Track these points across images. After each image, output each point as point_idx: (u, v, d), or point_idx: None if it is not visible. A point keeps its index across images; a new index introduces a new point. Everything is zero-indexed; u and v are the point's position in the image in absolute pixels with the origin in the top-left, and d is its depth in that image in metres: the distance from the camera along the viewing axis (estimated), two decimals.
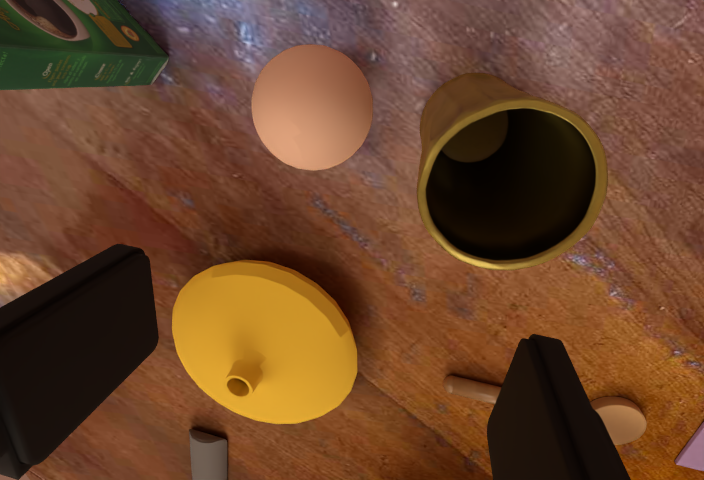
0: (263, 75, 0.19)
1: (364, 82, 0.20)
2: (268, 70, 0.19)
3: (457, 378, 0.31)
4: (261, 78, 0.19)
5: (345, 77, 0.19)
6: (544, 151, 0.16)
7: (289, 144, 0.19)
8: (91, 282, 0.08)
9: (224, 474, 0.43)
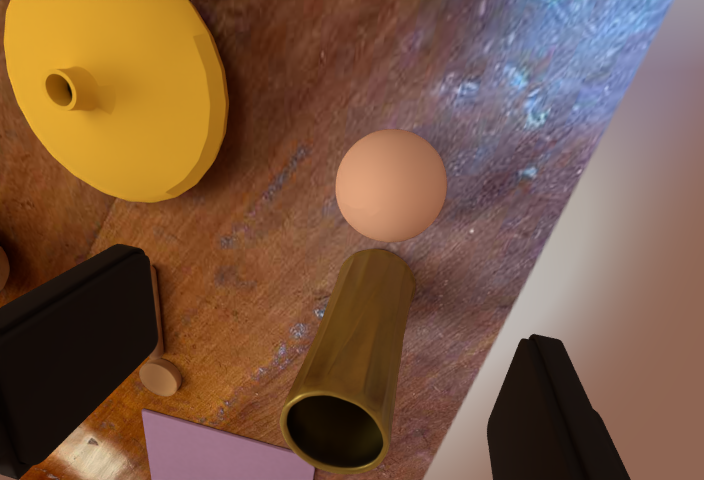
0: (421, 167, 0.20)
1: None
2: (425, 173, 0.20)
3: (155, 276, 0.34)
4: (419, 166, 0.20)
5: (415, 234, 0.22)
6: None
7: (358, 201, 0.20)
8: (91, 282, 0.08)
9: None
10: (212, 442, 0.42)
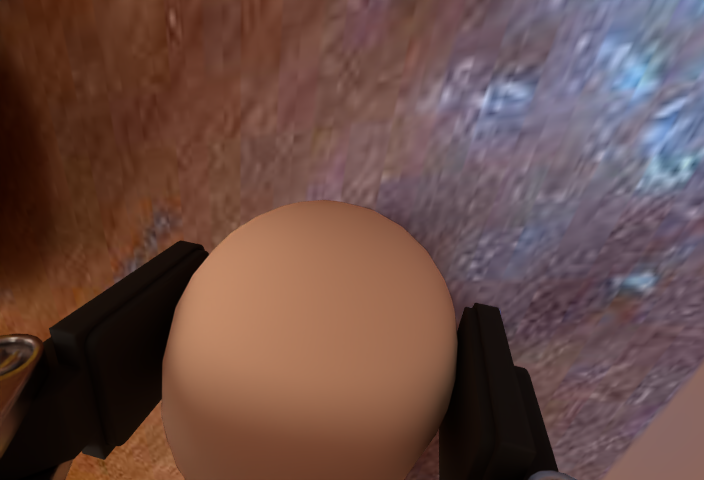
0: (382, 358, 0.06)
1: None
2: (395, 376, 0.06)
3: None
4: (374, 355, 0.06)
5: None
6: None
7: (183, 463, 0.06)
8: (165, 276, 0.09)
9: None
10: None
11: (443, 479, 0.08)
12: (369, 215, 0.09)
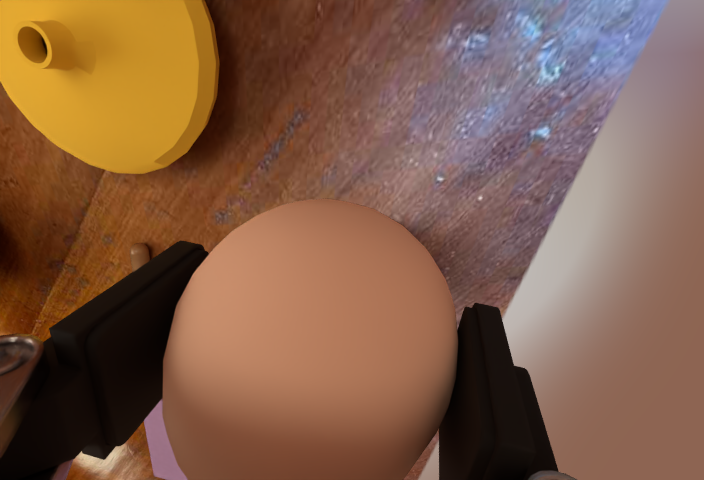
0: (383, 356, 0.06)
1: None
2: (396, 374, 0.06)
3: (147, 255, 0.32)
4: (374, 353, 0.06)
5: None
6: None
7: (184, 461, 0.06)
8: (165, 276, 0.09)
9: None
10: None
11: (443, 479, 0.08)
12: (370, 214, 0.09)
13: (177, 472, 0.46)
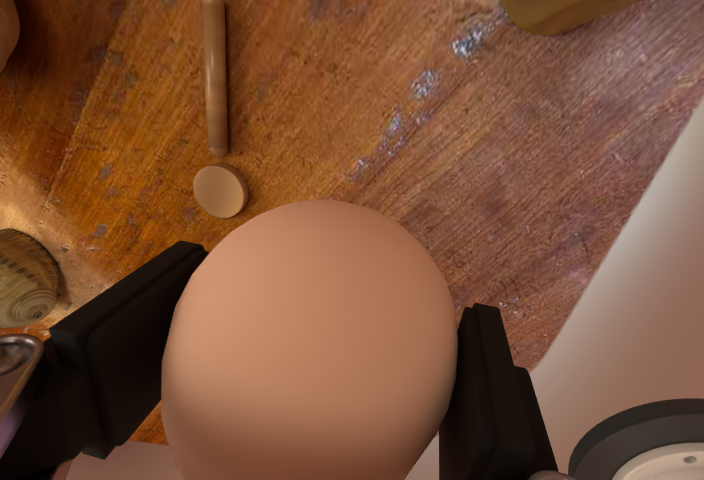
0: (382, 358, 0.06)
1: None
2: (395, 375, 0.06)
3: (223, 11, 0.24)
4: (374, 354, 0.06)
5: None
6: None
7: (182, 463, 0.06)
8: (165, 276, 0.08)
9: None
10: None
11: (443, 479, 0.08)
12: (369, 214, 0.09)
13: None
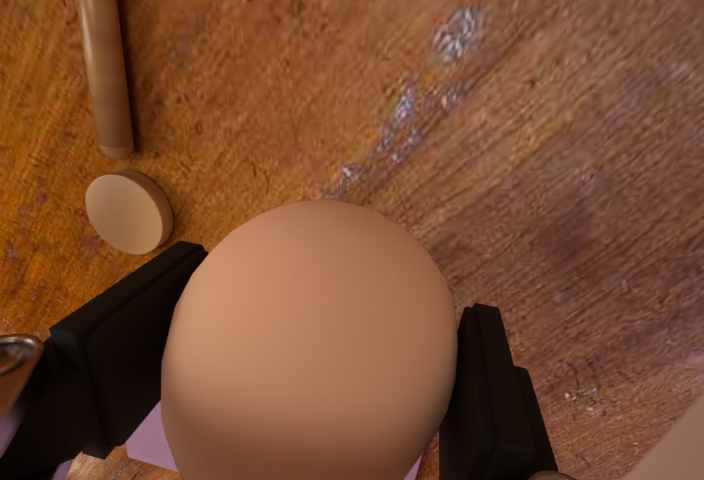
0: (382, 358, 0.06)
1: None
2: (395, 376, 0.06)
3: None
4: (374, 355, 0.06)
5: None
6: None
7: (182, 463, 0.06)
8: (165, 276, 0.08)
9: None
10: None
11: (443, 479, 0.08)
12: (369, 214, 0.09)
13: (167, 450, 0.27)
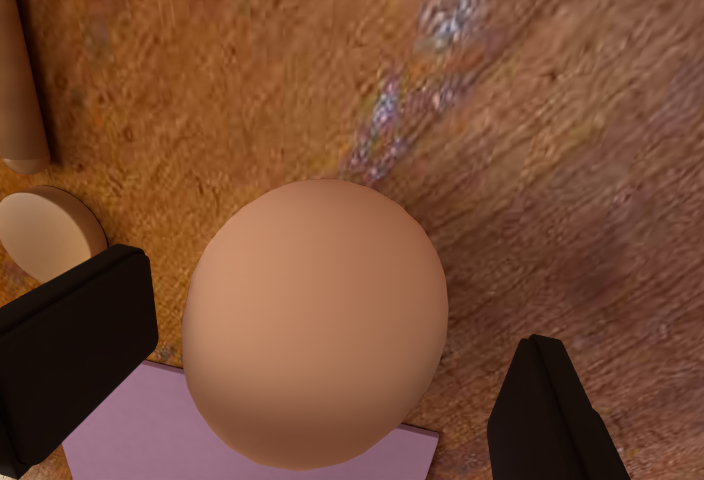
0: (380, 310, 0.07)
1: None
2: (391, 326, 0.07)
3: None
4: (372, 307, 0.07)
5: None
6: None
7: (204, 404, 0.07)
8: (91, 282, 0.08)
9: None
10: (190, 404, 0.19)
11: None
12: (367, 191, 0.09)
13: None
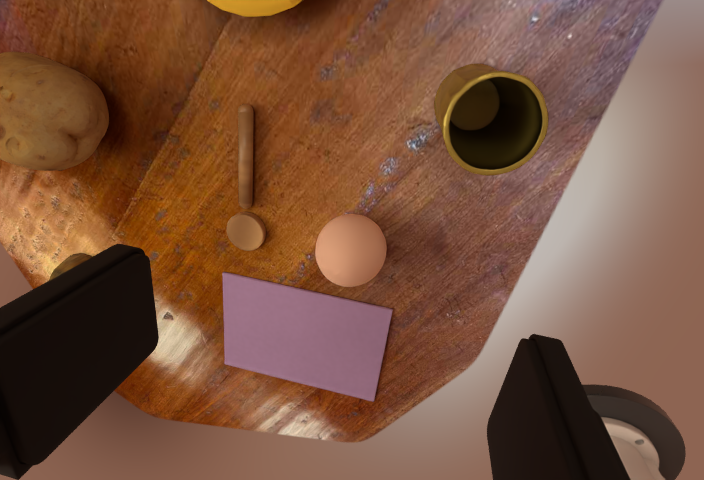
0: (366, 245, 0.33)
1: None
2: (368, 248, 0.33)
3: (253, 115, 0.36)
4: (364, 244, 0.33)
5: (365, 282, 0.35)
6: (481, 149, 0.26)
7: (328, 265, 0.33)
8: (91, 282, 0.08)
9: None
10: (290, 301, 0.44)
11: None
12: (364, 217, 0.35)
13: (248, 357, 0.49)
